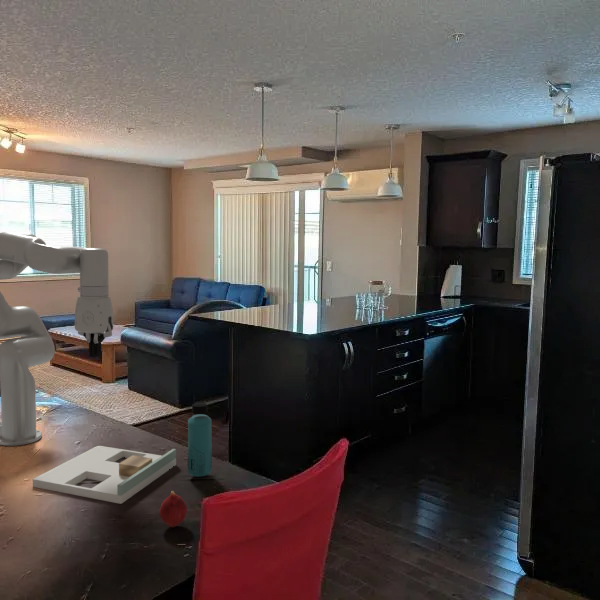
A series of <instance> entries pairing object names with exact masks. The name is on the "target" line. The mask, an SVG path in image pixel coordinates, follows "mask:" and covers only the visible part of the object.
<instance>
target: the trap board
mask: <svg viewBox="0 0 600 600" xmlns="http://www.w3.org/2000/svg"><path fill="white" fill-rule="evenodd" d="M132 455H133V456H140V457H146V458H152V463H150V464H149V465H147V466H146V467H144V468H143V469H141V470H140V471H138V472H137V473H135V474H133V475H132V476H130V477H128V476H122V475H119V463H120V462H117V461H119V460H120V459H123V458H124V457H125V459H127V458H129V457H131V456H132ZM176 465H177V449H176V448H171V450H169V451H168V452H166V453H164V454H163V455H161V454H154V453H150V452H149V453H147V452H141V451H135V450H130V449H129V450H128V449H122V448H117V447H110V446H102V445H97V446H95V447H92V448H90V449H89V450H87V451H84V452H83V453H81V454H78V455H77V456H75V457H73V458H71V459H69V460H67V461H65V462H63V463H61V464H59V465H57V466H56V467H54V468H52V469H50V470H48V471H46V472H44V473H42V474H40V475H38V476H36V477H34V478H32V487H33V488H37V489H38V488H39V489H43V490H48V491H54V492H57V493H62V494H63V493H64V494H68V495H73V496H77V497H78V496H79V497H84V498H89V499H94V500H99V501H104V502H110V503H115V504H124V502H126V501H127V500H129V499H130V498H132V497H133V496H135V495H136V494H138V493H139V492H140V491H141V490H143V489H144V488H146V487H147V486H149V485H150V484H151V483H152V482H154V481H156V480H157V479H158V478H160V477H161V476H162V475H164V474H166V473H167V472H168V471H170V470H171V469H173V468H174V467H176ZM173 466H174V467H173ZM169 469H170V470H169ZM84 480H93V481H98V482H99V483H98V484H96V485H94V486H93V487H91V488H90V487H87V486H86V487H85V486H82V485H81V486H80V485H78V484H80V483H82V482H83V481H84Z"/></svg>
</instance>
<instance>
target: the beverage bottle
mask: <svg viewBox="0 0 600 600" xmlns="http://www.w3.org/2000/svg"><path fill="white" fill-rule="evenodd" d="M208 412H209V409H208V404H207V403H205V402H196V403H193V404H192V406H191V413H192V414H193V415H192V416H191V417H189V418H188V420H187V459H186V461H187V472H188V474H189V475H190V476H193V477H206V476H208V475H210V474H211V473H212V470H213V450H212V449H213V442H212V421H213V420H212V418H211V417H209V416H208V414H207V413H208ZM206 414H207V415H206Z"/></svg>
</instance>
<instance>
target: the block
mask: <svg viewBox="0 0 600 600" xmlns="http://www.w3.org/2000/svg"><path fill="white" fill-rule="evenodd" d="M118 463H119V475H122V476H128V477H130V476H132V475H133V474H135V473H137V472H138V471H140V470H141V469H143V468H144V467H146V466H147V465H149V464H150V463H152V458H146V457H140V456H133V455H132V456H131V457H129V458H125V459H124V460H123V461H120V462H118Z"/></svg>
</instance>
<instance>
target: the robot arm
mask: <svg viewBox="0 0 600 600" xmlns="http://www.w3.org/2000/svg"><path fill="white" fill-rule="evenodd" d="M27 268H30V269H32V270H34V271H39V272H41V273H42V272H43V273H47V274H53V275H59V274H61V275H62V274H63V275H64V274H79V285H80V286H79V287H78V288H77V291H78V293H79V296H77V299H76V304H75V312H74V329H75V331H76V332H77V334H78V335H80V336H83V337H84V338H85V339H86V342H87V343H88V356H89V358H97V357H101V356H102V343H103V342H104V340H105V339H106V338H109V337H112V336H113V332H112V331H113V330H114V312H113V304H112V300H111V297H110V296H109V294H110V293H109V291H110V290H109V253H108V250H107V249H105V248H99V247H97V248H96V247H83V246H54V245H47V244H46V242H45V241H44V240H43V239H42V238H39V237H38V236H36V235H34V234H33V233H31V232H19V231H18V232H16V231H15V232H14V231H4V232H3V231H2V232H0V280H10V279H11V280H12V279H14V278H17V277H18V276H19V275H20V274H21V273H22V272H23V271H24V270H26V269H27ZM3 339H7V340H4V341H2V342H1V343H0V407H1V408H0V413H1V414H0V415H1V417H0V418H1V421H0V446H5V447H10V446H11V447H14V446H15V447H16V446H23V445H28V444H32V443H35V442H37V441H39V440H40V439H41V438H42V437H43V432H42V431H41V430H39V429H37V404H36V403H37V402H36V399H37V398H36V381H35V378H34V375H33V374H32V373H31V371H30V370H29V369H30V368H32V367H34V366H35V367H36V366H39V365H43V364H46V363H49V362H50V361H51V360H52V359H53V358H54V356H55V352H56V350H55V349H56V348H55V345H54V344H55V343H54V341H53V339H52V337H51V335H50V333H49V332H48V330H47V328H46V326H45V324H44V322H43V320H42V318H41V317H40V315H39V313H38V312H37V311H36V310H35V309H33V308H32V307H30V306H26V305H22V306H21V305H17V306H11V305H10V304H9V303H8V302H7V300H6V298H5V296H4V295H3V293H2V292H1V291H0V340H3Z"/></svg>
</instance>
